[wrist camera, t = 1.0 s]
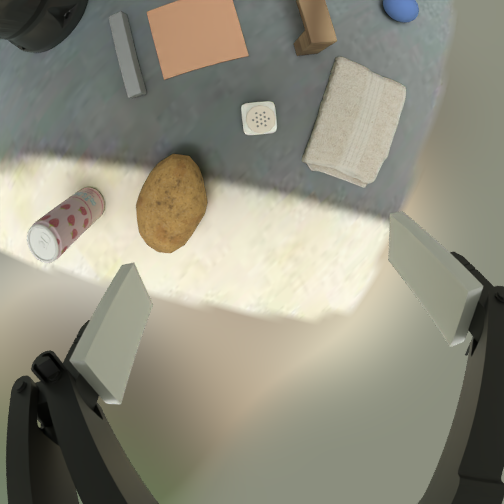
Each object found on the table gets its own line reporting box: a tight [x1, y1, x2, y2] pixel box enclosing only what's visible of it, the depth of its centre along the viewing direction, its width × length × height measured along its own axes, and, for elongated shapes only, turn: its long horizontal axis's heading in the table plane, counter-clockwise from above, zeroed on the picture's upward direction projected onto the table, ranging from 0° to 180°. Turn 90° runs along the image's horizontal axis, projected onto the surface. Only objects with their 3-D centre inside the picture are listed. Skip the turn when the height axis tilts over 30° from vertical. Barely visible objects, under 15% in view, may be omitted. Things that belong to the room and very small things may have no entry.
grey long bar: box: [109, 11, 147, 98], centre depth 30 cm, size 14×2×2 cm, turn 13°
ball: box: [383, 0, 419, 22], centre depth 26 cm, size 6×6×6 cm
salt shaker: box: [241, 101, 277, 135], centre depth 33 cm, size 4×4×10 cm
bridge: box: [294, 0, 337, 56], centre depth 25 cm, size 3×14×9 cm, turn 13°
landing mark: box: [147, 0, 249, 80], centre depth 31 cm, size 12×12×1 cm
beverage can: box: [27, 187, 104, 263], centre depth 35 cm, size 6×6×15 cm
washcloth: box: [302, 57, 406, 188], centre depth 37 cm, size 12×18×3 cm, turn 165°
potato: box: [136, 154, 207, 253], centre depth 39 cm, size 10×14×8 cm
